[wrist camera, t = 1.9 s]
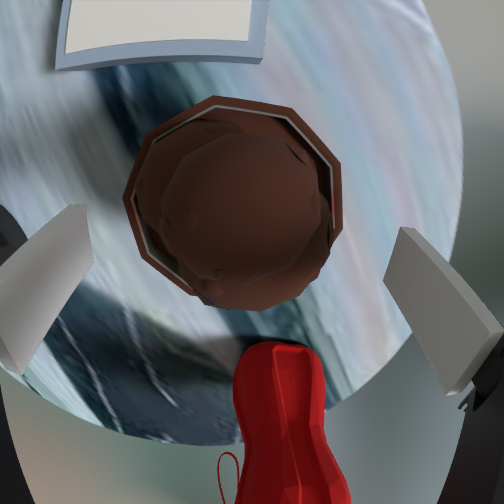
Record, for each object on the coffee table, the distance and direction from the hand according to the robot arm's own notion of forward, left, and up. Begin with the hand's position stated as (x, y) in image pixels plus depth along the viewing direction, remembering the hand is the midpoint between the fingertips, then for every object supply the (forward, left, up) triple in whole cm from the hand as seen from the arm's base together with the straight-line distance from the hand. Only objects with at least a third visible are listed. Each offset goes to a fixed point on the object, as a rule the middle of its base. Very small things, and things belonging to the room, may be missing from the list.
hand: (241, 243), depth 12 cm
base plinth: (-6, +15, -13) cm, 21 cm away
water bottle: (+5, -22, -13) cm, 26 cm away
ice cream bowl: (0, 0, -13) cm, 13 cm away
